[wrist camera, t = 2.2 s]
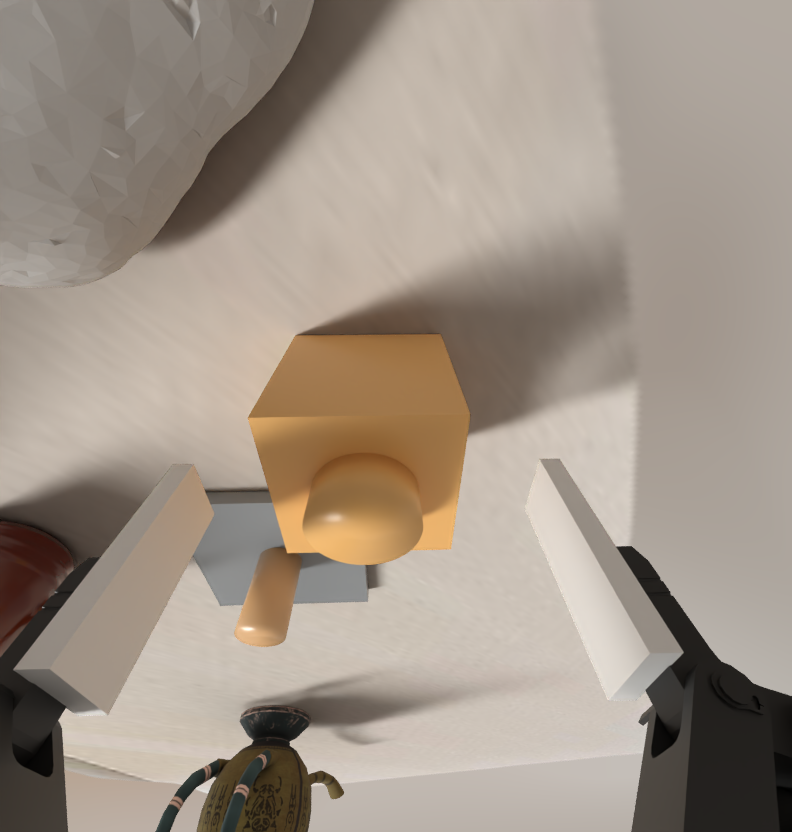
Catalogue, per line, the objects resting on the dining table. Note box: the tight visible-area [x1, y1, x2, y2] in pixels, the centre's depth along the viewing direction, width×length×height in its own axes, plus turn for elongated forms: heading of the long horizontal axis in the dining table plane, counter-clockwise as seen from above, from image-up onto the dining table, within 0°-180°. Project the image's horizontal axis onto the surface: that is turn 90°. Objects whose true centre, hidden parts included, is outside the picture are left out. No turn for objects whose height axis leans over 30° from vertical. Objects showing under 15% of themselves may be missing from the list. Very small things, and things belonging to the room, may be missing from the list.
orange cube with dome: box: [248, 334, 471, 565], centre depth 15 cm, size 7×7×9 cm
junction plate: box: [193, 491, 368, 647], centre depth 23 cm, size 12×12×6 cm
